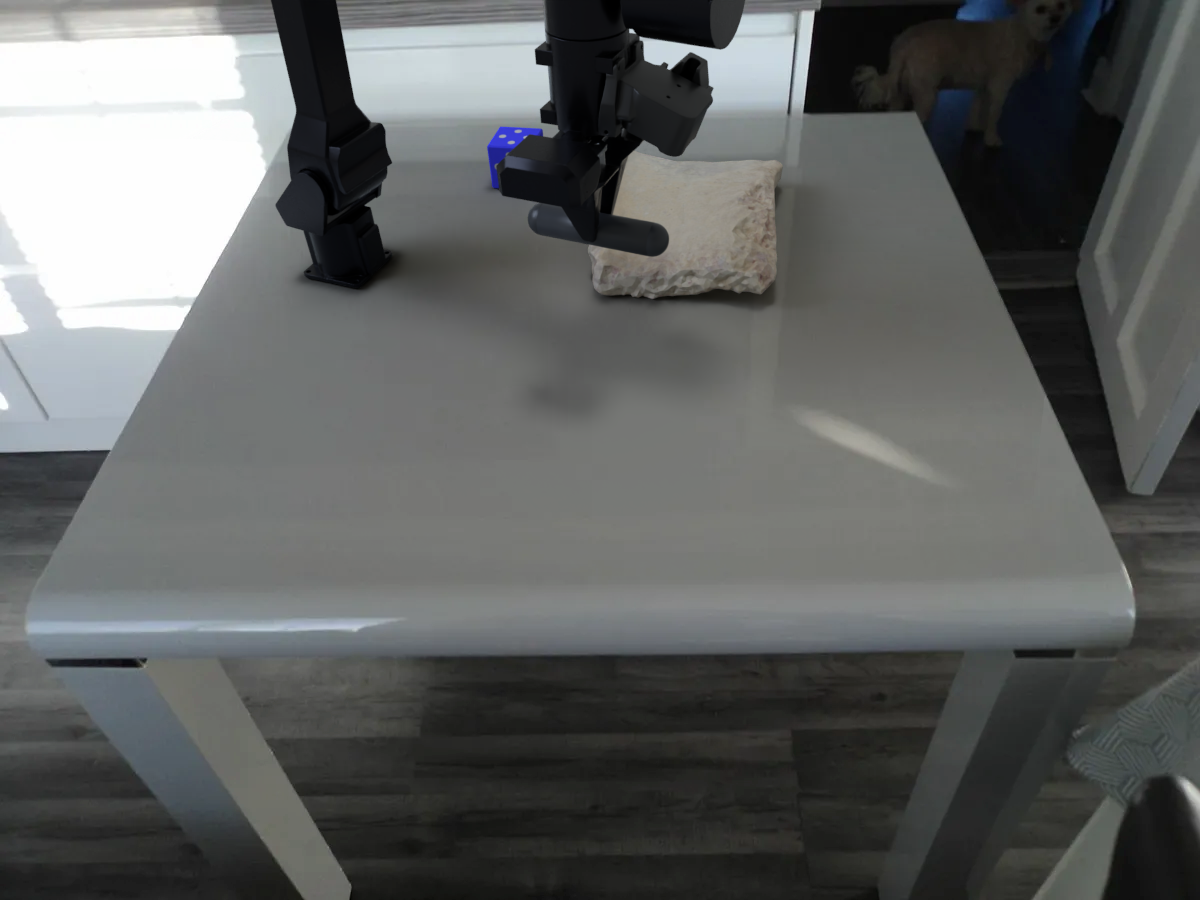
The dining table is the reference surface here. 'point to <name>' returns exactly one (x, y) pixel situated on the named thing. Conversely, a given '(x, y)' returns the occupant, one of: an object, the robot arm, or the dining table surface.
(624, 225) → the dark grey capsule
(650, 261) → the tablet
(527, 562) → the dining table surface
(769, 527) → the dining table surface
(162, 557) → the dining table surface
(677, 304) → the dining table surface
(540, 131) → the die
